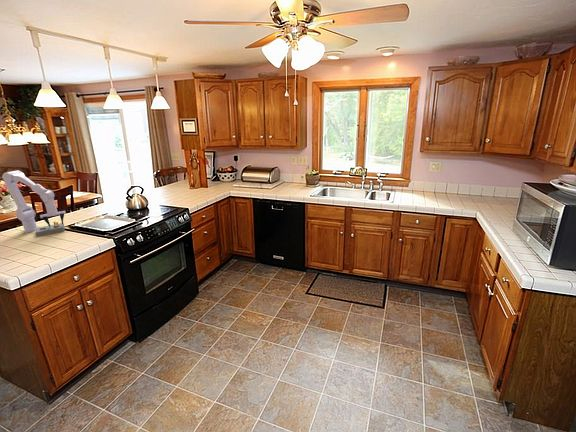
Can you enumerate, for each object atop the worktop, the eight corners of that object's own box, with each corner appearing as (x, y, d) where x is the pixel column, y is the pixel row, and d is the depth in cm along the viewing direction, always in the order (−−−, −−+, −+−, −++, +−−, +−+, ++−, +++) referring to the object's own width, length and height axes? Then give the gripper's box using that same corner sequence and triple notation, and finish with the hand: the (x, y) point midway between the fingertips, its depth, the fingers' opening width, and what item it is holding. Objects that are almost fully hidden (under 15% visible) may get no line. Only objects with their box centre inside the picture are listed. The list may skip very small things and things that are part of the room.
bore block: (37, 231, 216) (36, 227, 215) (64, 226, 225) (63, 222, 224) (36, 236, 207) (35, 232, 206) (64, 231, 216) (63, 227, 215)
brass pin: (55, 229, 218) (53, 221, 216) (60, 228, 220) (57, 220, 218) (55, 230, 216) (53, 222, 214) (59, 229, 218) (57, 221, 216)
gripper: (37, 210, 206) (43, 229, 210) (63, 206, 214) (68, 224, 218) (38, 208, 211) (44, 226, 215) (63, 204, 219) (68, 221, 223)
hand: (56, 225), depth 217 cm, fingers open, 7 cm apart
